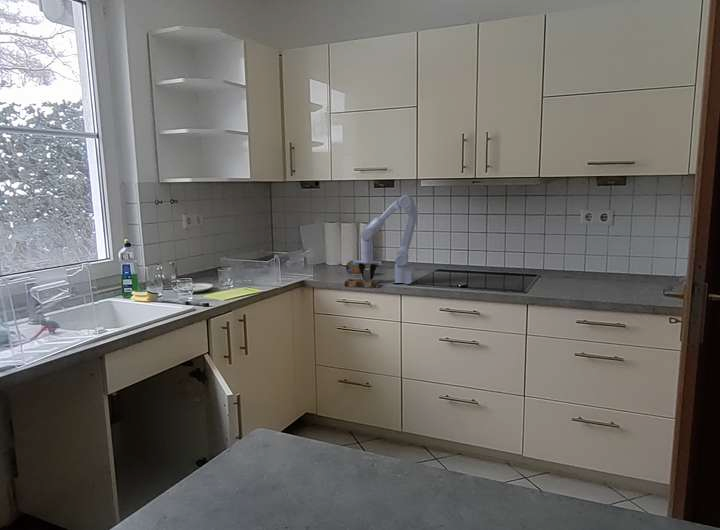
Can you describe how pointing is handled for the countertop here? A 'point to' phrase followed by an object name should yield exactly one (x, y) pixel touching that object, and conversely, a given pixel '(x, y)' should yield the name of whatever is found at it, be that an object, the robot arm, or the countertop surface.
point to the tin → (354, 268)
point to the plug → (367, 274)
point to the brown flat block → (361, 283)
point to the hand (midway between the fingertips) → (367, 278)
